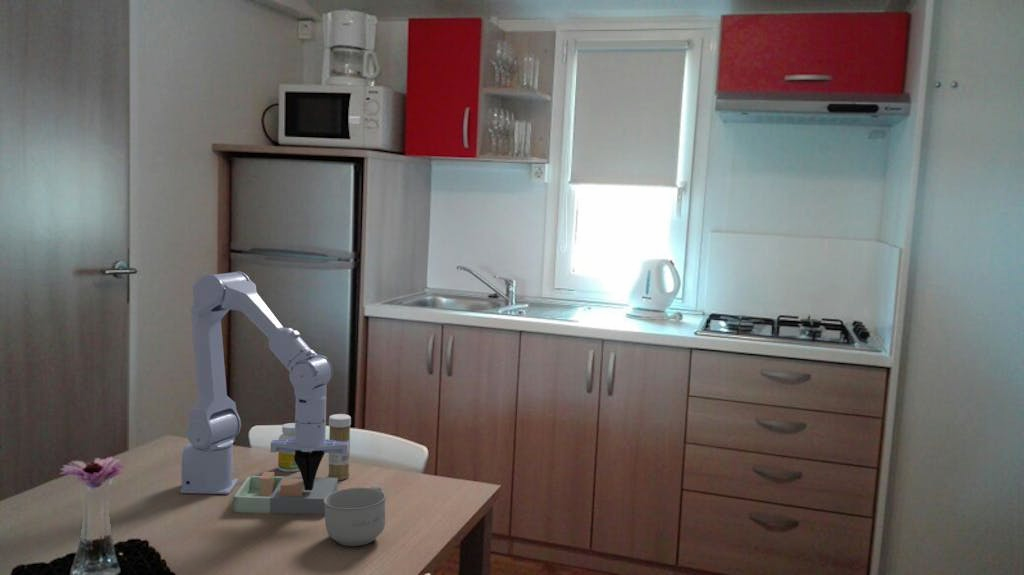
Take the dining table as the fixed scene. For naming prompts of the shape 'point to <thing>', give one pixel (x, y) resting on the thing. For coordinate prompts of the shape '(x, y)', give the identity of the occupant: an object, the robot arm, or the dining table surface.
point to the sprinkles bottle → (342, 433)
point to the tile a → (266, 484)
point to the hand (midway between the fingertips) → (309, 488)
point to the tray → (252, 497)
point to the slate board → (304, 498)
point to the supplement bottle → (287, 458)
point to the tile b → (292, 487)
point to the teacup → (355, 515)
